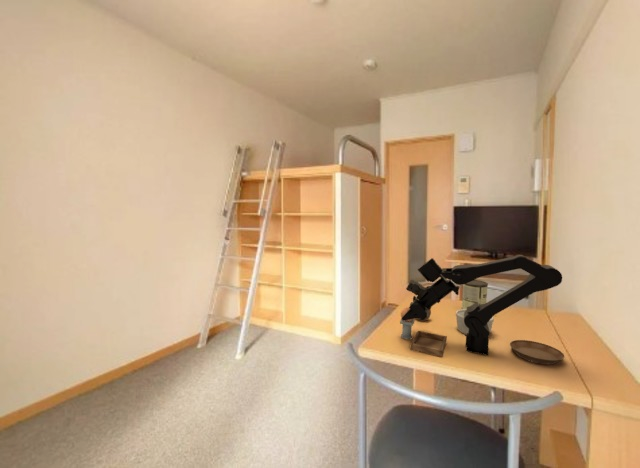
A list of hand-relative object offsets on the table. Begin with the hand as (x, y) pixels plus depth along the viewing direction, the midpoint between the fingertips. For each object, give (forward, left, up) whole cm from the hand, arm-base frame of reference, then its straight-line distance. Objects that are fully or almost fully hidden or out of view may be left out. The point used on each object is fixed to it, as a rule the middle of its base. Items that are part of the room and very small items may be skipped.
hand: (403, 317), depth 117 cm
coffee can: (-22, -45, -8) cm, 51 cm away
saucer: (-42, -7, -8) cm, 43 cm away
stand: (-1, 0, -7) cm, 7 cm away
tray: (-10, +3, -7) cm, 13 cm away
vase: (-3, -22, -8) cm, 24 cm away
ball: (-1, 0, +1) cm, 2 cm away
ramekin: (-23, -19, -8) cm, 31 cm away
